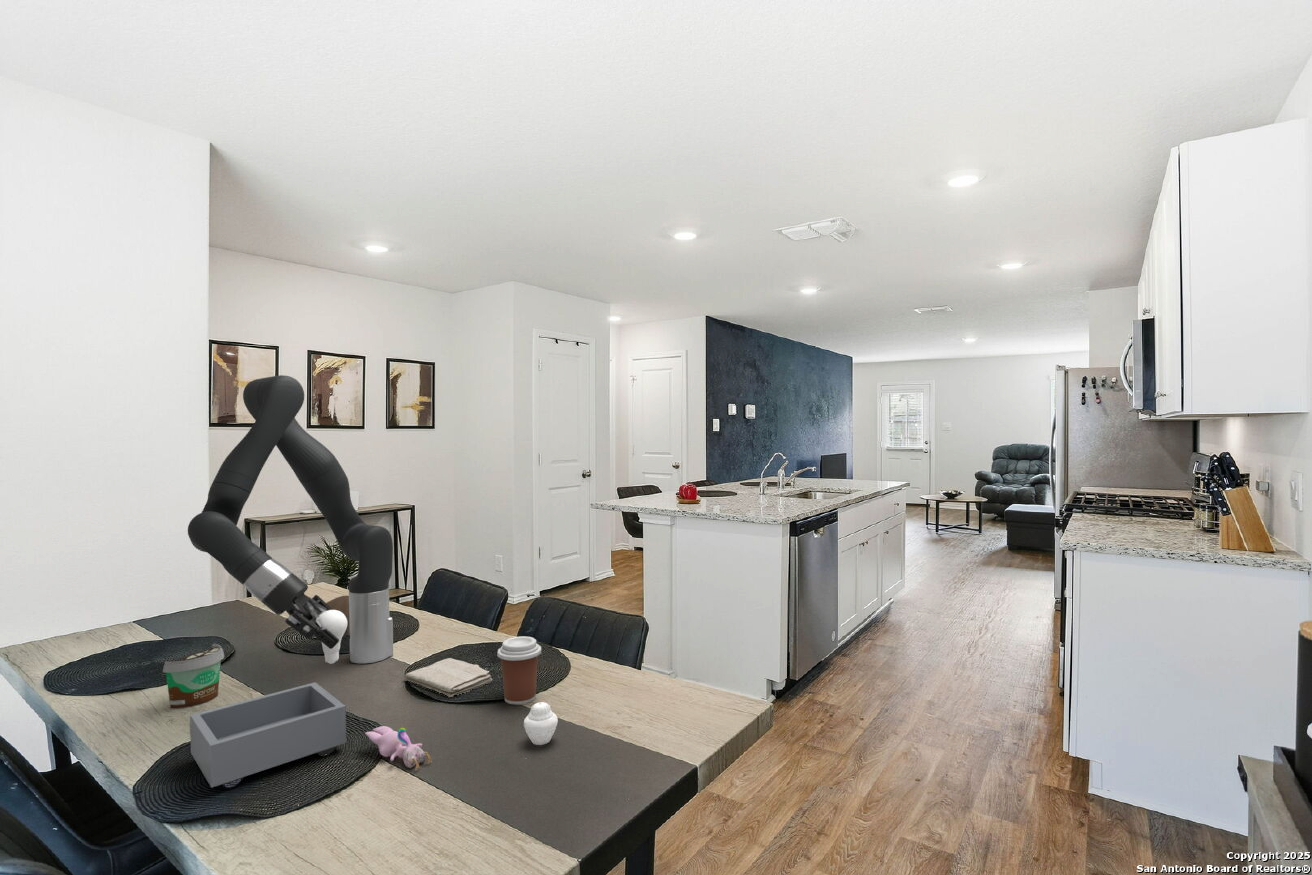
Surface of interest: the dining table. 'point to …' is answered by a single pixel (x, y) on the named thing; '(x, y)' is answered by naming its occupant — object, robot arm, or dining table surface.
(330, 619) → the lightbulb
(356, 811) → the dining table surface
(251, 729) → the grey open box
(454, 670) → the washcloth
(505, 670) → the coffee cup
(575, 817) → the dining table surface
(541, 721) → the white lidded jar
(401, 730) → the pink toy animal
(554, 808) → the dining table surface
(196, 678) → the food container
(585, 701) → the dining table surface
